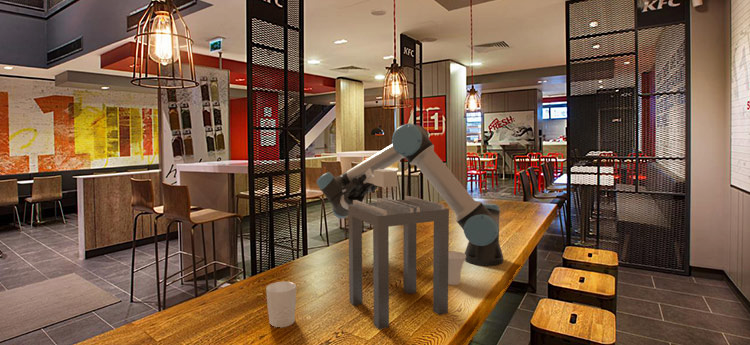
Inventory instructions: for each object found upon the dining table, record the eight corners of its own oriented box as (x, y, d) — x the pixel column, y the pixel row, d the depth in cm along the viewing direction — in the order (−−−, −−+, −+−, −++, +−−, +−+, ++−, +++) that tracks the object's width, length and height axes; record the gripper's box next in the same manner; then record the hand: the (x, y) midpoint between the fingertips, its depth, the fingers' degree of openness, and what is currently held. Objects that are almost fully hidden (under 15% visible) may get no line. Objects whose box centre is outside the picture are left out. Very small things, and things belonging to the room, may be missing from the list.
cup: (451, 289, 133) (451, 259, 132) (434, 280, 141) (434, 252, 141) (472, 284, 137) (472, 255, 136) (454, 276, 146) (455, 248, 145)
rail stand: (349, 301, 124) (348, 200, 121) (411, 289, 133) (411, 195, 130) (378, 329, 106) (378, 211, 103) (447, 313, 115) (448, 204, 112)
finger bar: (359, 181, 146) (358, 167, 145) (371, 180, 148) (371, 167, 148) (383, 187, 129) (383, 171, 129) (397, 186, 131) (397, 170, 131)
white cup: (289, 330, 106) (288, 293, 105) (261, 327, 107) (260, 291, 106) (301, 317, 113) (300, 282, 112) (275, 314, 115) (274, 280, 114)
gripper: (372, 204, 161) (397, 180, 142) (335, 208, 154) (356, 182, 135) (368, 187, 164) (392, 161, 145) (331, 190, 157) (351, 162, 138)
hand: (375, 171), depth 140 cm, fingers closed on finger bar, 3 cm apart
